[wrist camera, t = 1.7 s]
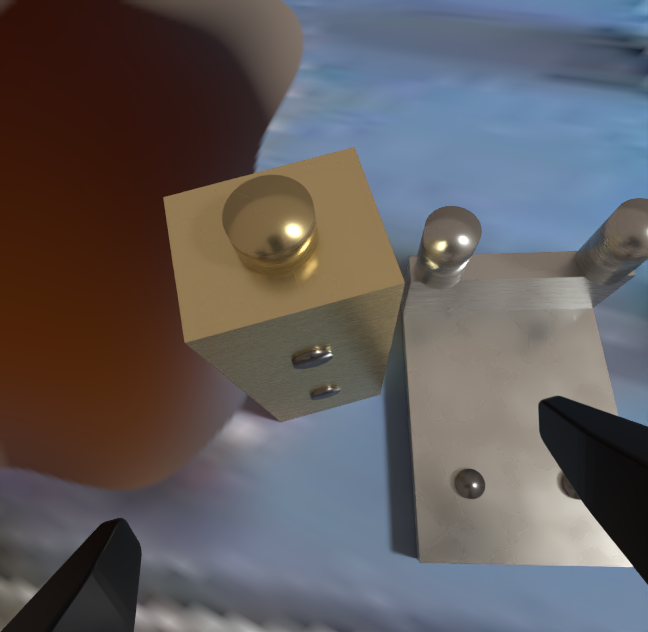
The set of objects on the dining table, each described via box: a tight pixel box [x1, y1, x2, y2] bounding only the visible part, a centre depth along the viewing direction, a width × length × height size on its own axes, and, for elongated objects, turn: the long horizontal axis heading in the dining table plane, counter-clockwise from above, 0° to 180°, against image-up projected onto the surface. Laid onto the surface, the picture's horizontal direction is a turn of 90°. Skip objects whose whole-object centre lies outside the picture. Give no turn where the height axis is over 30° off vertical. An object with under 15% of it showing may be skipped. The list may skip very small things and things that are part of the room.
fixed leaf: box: [401, 198, 648, 567], centre depth 17 cm, size 12×9×8 cm
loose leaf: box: [164, 147, 405, 422], centre depth 16 cm, size 4×5×14 cm
